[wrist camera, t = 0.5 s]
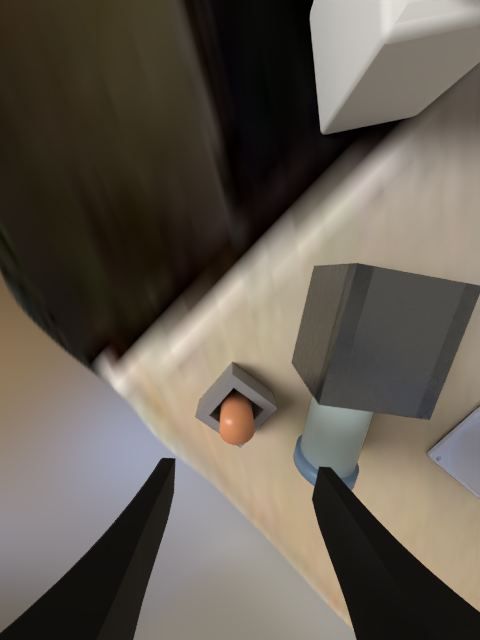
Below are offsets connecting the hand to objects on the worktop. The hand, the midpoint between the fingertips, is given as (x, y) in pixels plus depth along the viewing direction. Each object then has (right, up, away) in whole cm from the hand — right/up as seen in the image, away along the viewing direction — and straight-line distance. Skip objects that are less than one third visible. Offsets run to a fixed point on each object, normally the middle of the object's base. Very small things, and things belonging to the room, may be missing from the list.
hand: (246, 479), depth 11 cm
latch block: (-1, +1, +10) cm, 10 cm away
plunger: (-1, +1, +8) cm, 8 cm away
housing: (+9, +7, +8) cm, 14 cm away
